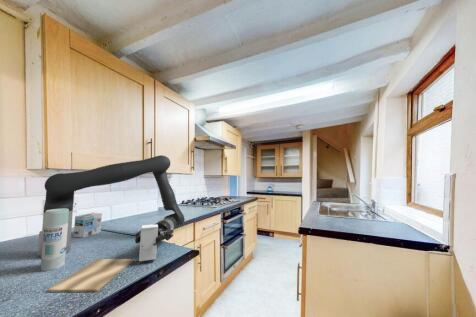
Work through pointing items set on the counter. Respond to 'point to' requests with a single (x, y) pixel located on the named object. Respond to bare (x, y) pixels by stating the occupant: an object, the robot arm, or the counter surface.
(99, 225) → the light bulb box
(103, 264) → the wooden board
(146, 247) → the skincare box
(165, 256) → the counter surface
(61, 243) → the spray paint can
